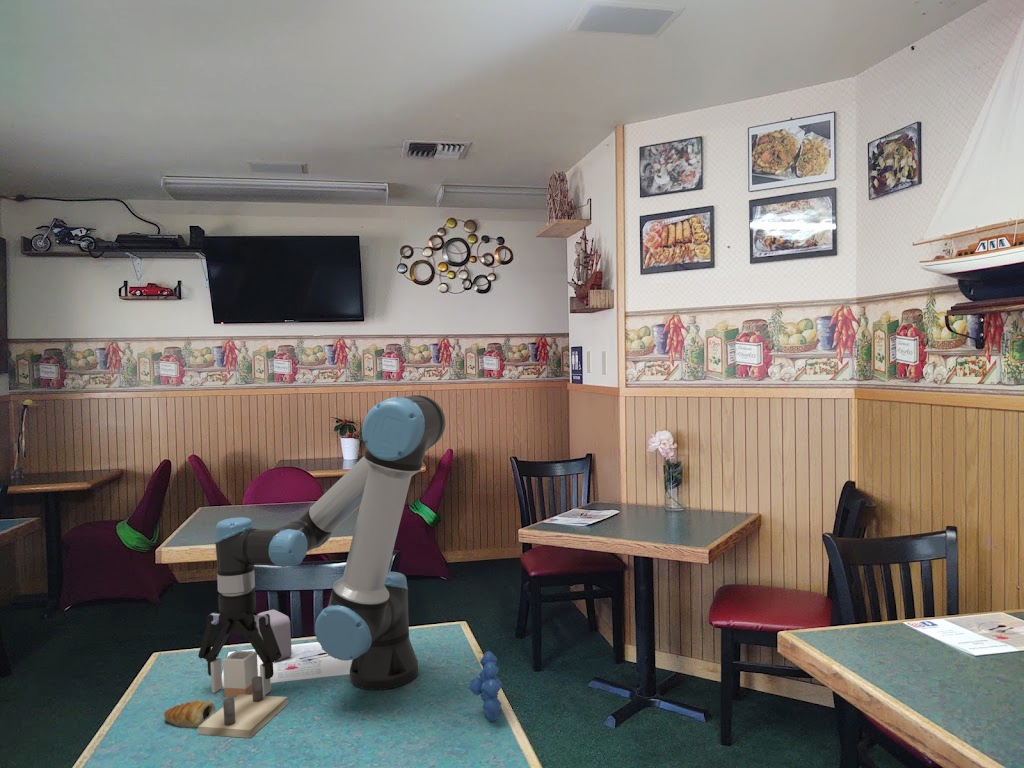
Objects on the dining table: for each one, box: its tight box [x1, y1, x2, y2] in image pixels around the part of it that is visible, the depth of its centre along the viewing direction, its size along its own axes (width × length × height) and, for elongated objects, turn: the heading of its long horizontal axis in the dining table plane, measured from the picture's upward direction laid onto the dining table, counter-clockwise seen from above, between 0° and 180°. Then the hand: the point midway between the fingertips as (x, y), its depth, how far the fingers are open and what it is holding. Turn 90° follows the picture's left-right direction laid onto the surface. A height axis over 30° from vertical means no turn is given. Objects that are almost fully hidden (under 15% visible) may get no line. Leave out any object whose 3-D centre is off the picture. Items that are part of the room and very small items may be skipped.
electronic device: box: [255, 608, 292, 662], centre depth 181 cm, size 10×5×10 cm, turn 43°
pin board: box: [197, 675, 288, 739], centre depth 148 cm, size 11×14×6 cm
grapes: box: [468, 650, 503, 722], centre depth 146 cm, size 12×7×12 cm, turn 6°
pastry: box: [163, 699, 216, 729], centre depth 149 cm, size 9×7×4 cm
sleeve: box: [222, 650, 259, 698], centre depth 160 cm, size 5×5×8 cm
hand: (241, 691), depth 161 cm, fingers open, 11 cm apart
